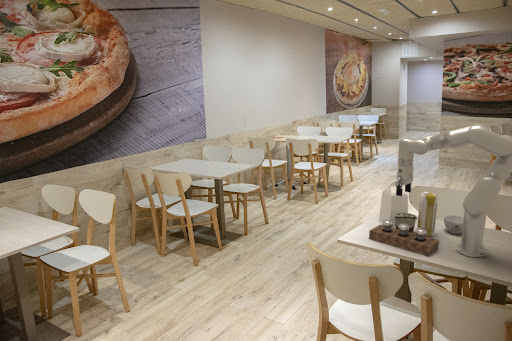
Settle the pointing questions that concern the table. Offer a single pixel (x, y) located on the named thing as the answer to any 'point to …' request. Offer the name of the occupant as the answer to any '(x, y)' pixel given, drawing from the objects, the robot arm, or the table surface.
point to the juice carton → (427, 212)
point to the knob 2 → (403, 230)
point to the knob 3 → (420, 234)
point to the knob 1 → (387, 225)
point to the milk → (392, 203)
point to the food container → (405, 220)
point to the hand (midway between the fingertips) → (403, 193)
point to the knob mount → (404, 241)
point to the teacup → (454, 223)
